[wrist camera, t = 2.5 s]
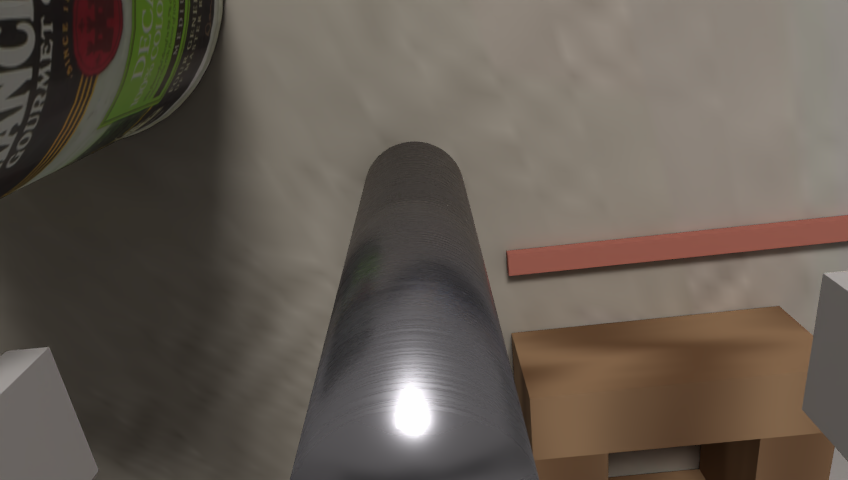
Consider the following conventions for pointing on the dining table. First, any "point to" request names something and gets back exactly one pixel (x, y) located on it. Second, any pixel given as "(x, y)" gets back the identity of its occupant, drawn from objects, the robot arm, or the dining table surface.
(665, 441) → the wooden square frame
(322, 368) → the steel round rod
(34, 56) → the coffee can
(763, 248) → the thin red bar
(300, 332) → the dining table surface
